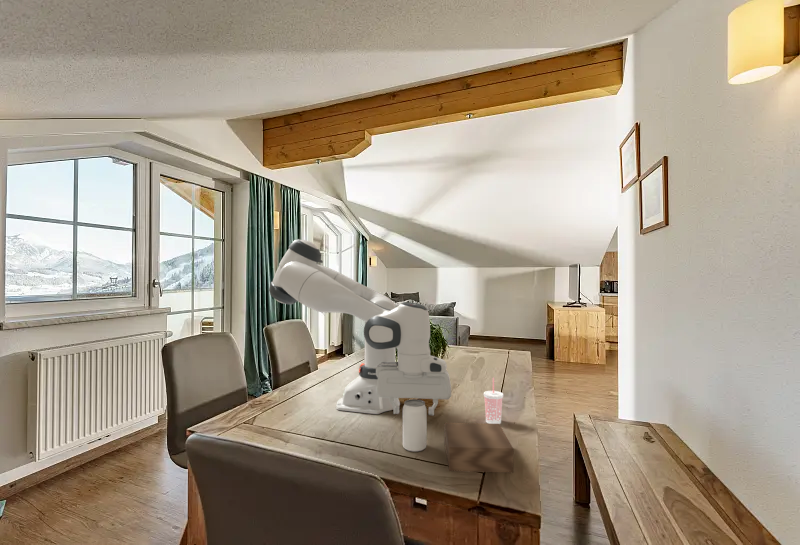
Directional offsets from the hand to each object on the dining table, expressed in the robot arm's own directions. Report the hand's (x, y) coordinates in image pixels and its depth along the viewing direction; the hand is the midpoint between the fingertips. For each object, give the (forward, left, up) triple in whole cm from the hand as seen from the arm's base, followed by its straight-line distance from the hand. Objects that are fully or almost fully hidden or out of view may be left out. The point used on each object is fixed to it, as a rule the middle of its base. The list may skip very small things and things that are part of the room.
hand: (413, 413), depth 103 cm
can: (0, 0, -9) cm, 9 cm away
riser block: (+16, -4, -9) cm, 19 cm away
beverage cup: (+24, +20, -9) cm, 33 cm away
